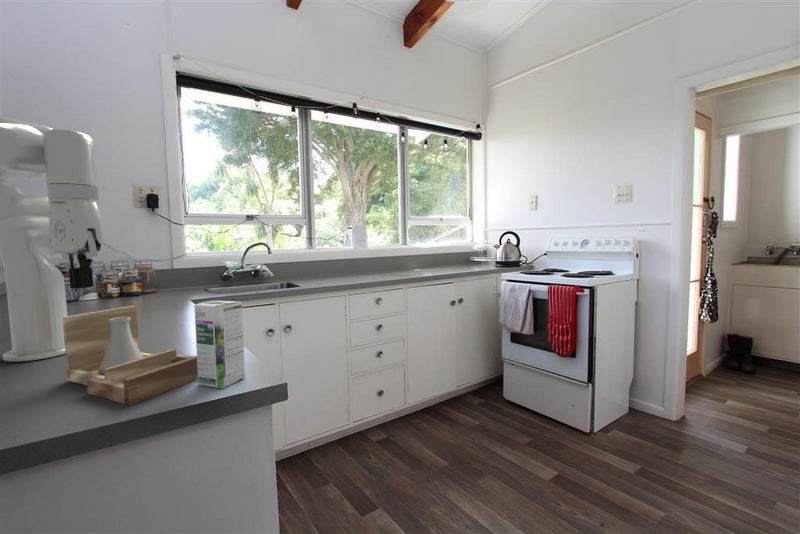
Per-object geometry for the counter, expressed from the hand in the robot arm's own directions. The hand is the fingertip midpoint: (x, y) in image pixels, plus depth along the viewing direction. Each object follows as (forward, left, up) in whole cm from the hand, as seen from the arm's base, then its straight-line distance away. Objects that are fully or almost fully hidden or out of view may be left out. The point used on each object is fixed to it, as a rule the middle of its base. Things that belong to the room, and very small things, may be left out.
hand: (82, 287), depth 74 cm
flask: (+12, 0, -16) cm, 20 cm away
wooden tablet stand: (+12, 0, -16) cm, 21 cm away
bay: (+22, 0, -16) cm, 27 cm away
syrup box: (+33, +5, -17) cm, 37 cm away
